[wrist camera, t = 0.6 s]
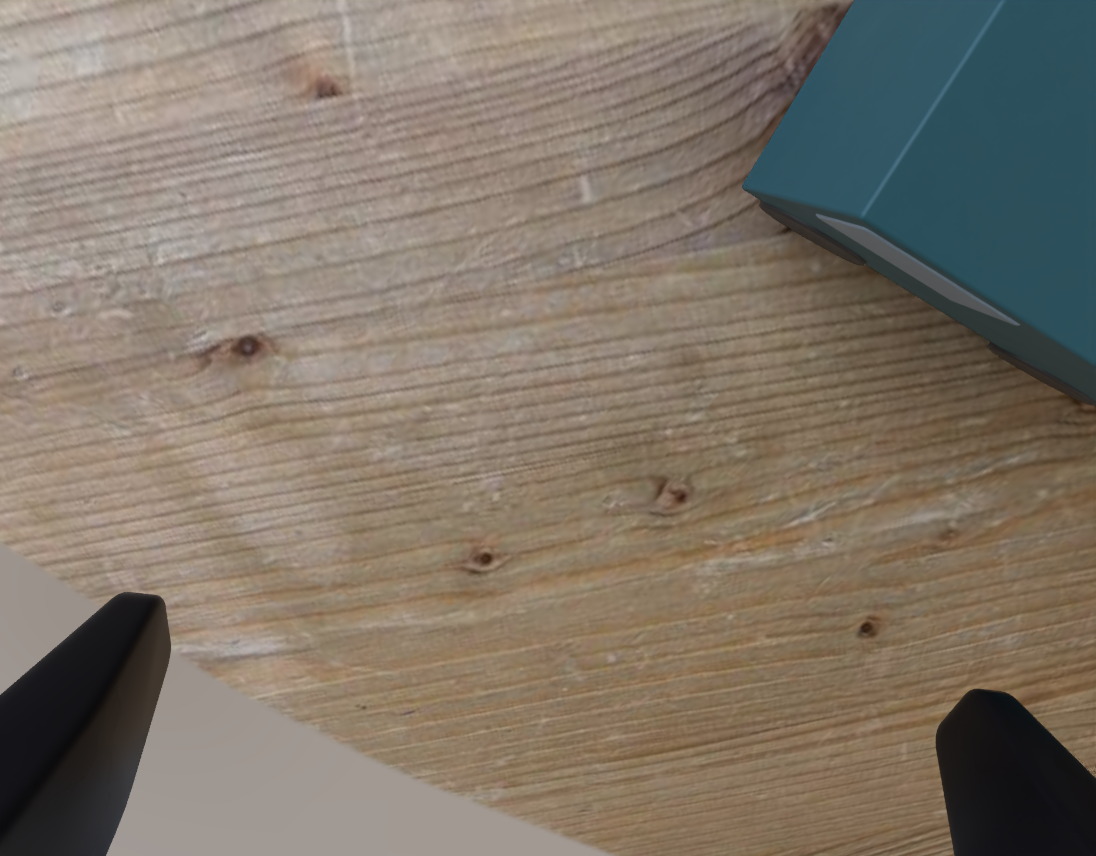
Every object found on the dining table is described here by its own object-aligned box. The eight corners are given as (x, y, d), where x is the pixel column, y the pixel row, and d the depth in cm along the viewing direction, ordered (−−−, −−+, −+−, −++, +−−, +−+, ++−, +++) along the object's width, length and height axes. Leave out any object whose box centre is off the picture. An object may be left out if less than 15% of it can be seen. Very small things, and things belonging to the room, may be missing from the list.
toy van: (1213, 202, 23) (1601, 246, 15) (1063, 396, 24) (1340, 528, 17) (862, -49, 20) (1106, -161, 12) (721, 186, 22) (855, 223, 14)
